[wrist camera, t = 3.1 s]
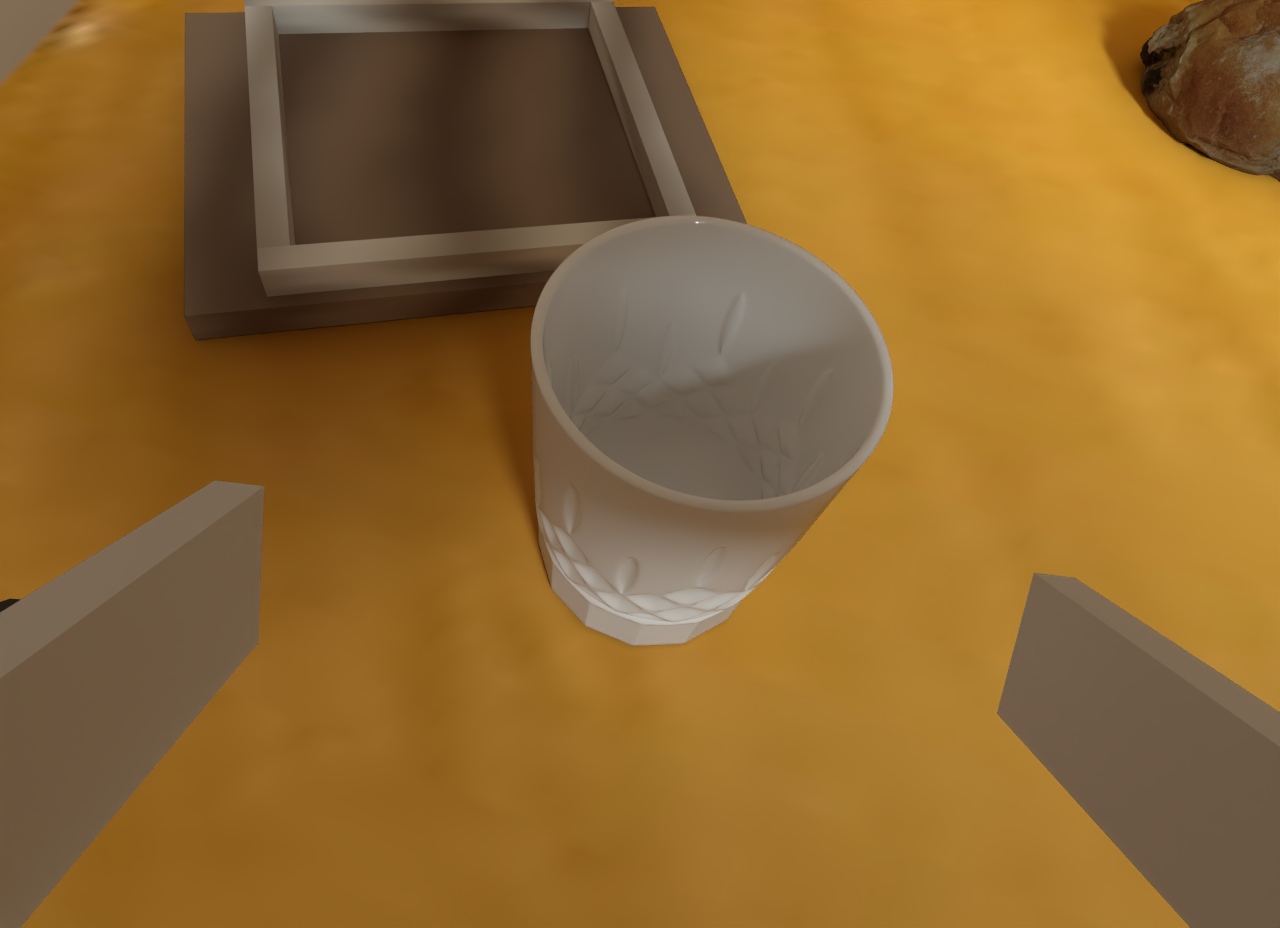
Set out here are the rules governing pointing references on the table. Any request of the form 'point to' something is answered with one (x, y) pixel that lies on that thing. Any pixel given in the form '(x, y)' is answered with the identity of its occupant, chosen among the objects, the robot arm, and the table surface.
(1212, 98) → the bread roll
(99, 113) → the table surface
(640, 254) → the white cup
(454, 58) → the keeper board
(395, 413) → the table surface
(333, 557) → the table surface
